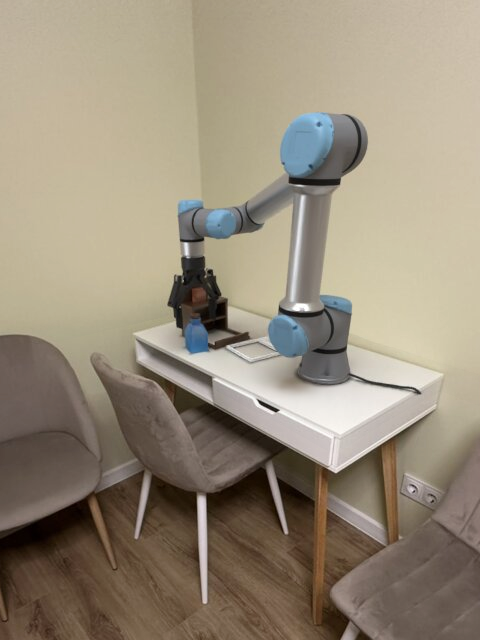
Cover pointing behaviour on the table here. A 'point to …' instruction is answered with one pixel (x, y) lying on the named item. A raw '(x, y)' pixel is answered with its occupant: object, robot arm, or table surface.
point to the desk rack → (199, 304)
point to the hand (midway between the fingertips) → (196, 323)
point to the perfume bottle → (196, 335)
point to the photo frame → (262, 340)
